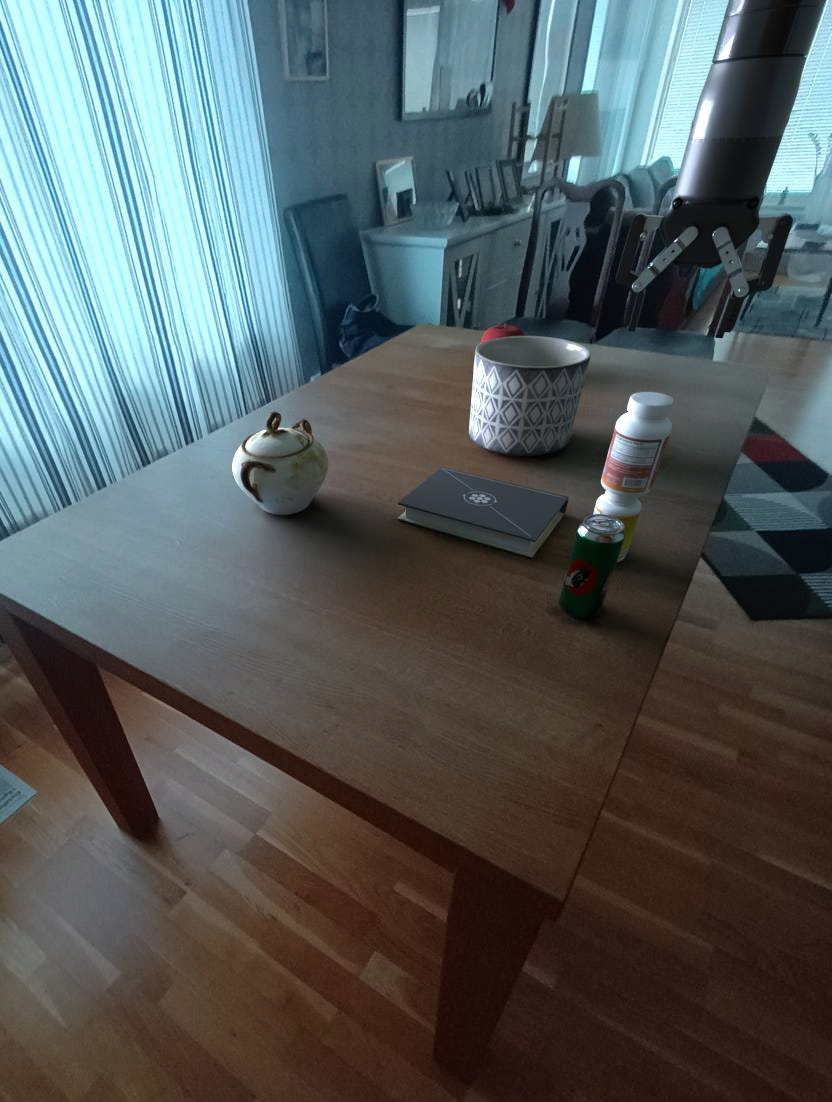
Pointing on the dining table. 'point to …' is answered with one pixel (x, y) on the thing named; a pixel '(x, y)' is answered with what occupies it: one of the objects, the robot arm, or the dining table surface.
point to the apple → (501, 332)
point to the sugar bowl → (281, 466)
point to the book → (484, 510)
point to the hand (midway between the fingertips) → (674, 333)
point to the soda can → (591, 565)
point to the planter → (526, 393)
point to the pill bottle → (638, 445)
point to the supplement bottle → (620, 514)
